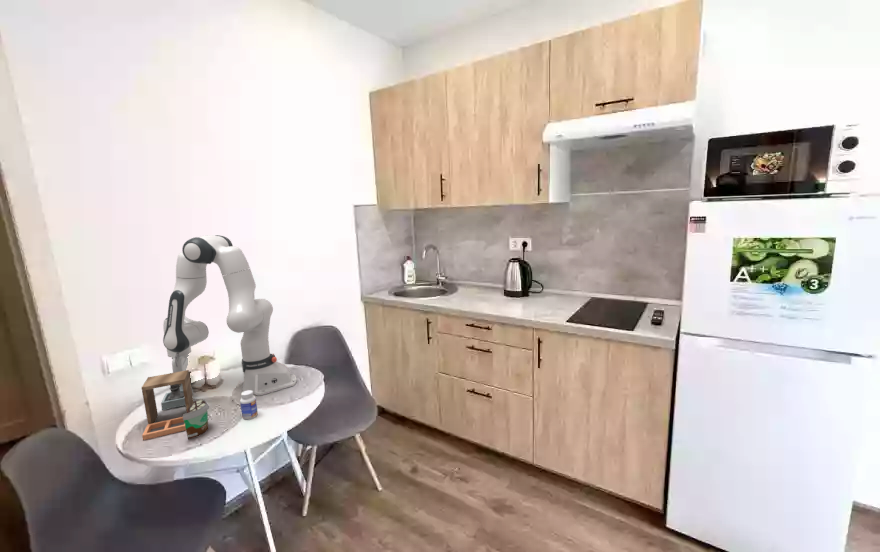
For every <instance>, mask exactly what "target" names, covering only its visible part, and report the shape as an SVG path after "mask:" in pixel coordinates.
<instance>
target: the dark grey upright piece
mask: <svg viewBox="0 0 880 552" xmlns="http://www.w3.org/2000/svg"><path fill="white" fill-rule="evenodd" d="M169 386H170V388H169V390H170V392H171V396H169V397H168V400H169V401H170V400H175V399H180V398H184V393H181V392H180V386H181V385H179V384H174V385H169Z"/></svg>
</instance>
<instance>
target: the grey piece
mask: <svg viewBox="0 0 880 552" xmlns="http://www.w3.org/2000/svg"><path fill="white" fill-rule="evenodd" d="M190 373H191V371H189V376H190ZM190 382H191V378H190ZM179 386H180V387H179V388H180V392H181V393H184V392H183V386H182V383H180V384H179ZM191 388H192V395H193V396H194V395H195V394H194V388H193V387H191ZM169 396H171V391H170V392H166V393H165V394H164V396H163V399H162V400H161V403H160V404H161V410H162V411H165V410H169V409H174V408H178V407H182V406H183V407H184V406H186V405H185V398H180V399H175V400H170V401H169V400H168V397H169Z"/></svg>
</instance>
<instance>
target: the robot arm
mask: <svg viewBox="0 0 880 552" xmlns="http://www.w3.org/2000/svg"><path fill="white" fill-rule="evenodd" d="M212 263H214V264H216V265H217V266H218V268H219V271H220V274H221V277H222V280H223V282H224V285H225V289H226V290H227V291H226V292H227V295H228V296H227V298H228V315H227V317H226V325H227V328H229V330H230V331H232V332H234V333H238V334H239V333H240V334H241V333H243V334H242V337H241V340H240V349H241V358H242V359H241V369H242V372H243V385H242V389H241V391H242V392H244V391H247V390H252V391H253V395H254V396H263V395H266V394H269V393H273V392H277V391H280V390H284V389H287V388H291V387H293V386H295V385H296V384H297V377H296V375H295V374H294V373H292V372H291V370H290V369H289V367H288V366H287V365H286V364H285V363H281V362H278V359H277V357H276V354H275V353H270V344H269V342H270V341H269V332H270V323H271V317H272V314H273V311H274V308H273V303H272V302H271V301H270V300H269V299H266V298H255V291H256V286H257V285H256V282H255V278H254V276H253V273H252V270H251V266H250V265H249V262H248V259H247V258H246V256H245V254H244V252H243V250H242V249H241V247H239V246H238V247H237V246H234V245H233V243H232V240H231V239H229V238H228V237H226V236H224V235H202V236H201V235H200V236H196V237H193V238H189V239H188V240H186V241H185V242H184V244H183V245H182V251H181V252H180V253H178V255H177V259H176V265H175V285H174V289H173V292H172V293H171V295H170V297H169V300H168V301H169V302H168V308H167V309H168V310H167V317H166V318H165V319H164V320H163V324H162V325H163V338H162V343H163V346H164V348H166V352H167V357H168V358H171V365H172V367H171V368H172V373H175V372H180V371H186V370H187V369H188V366H189V364H188V358H187V357H188V356H189V355H188V354H189V353H191V352H192V347H193V346H195V345H198V344H199V343H201V342H203V341H206V339H207V338H208V337H209V328H208V326H207V325H206V323H204V322H202V321H200V320H199V321H197V320H193V319H191V318H188V317H187V316H186V309H187V307H188V306H189V305H190V304H191V302H193V301H194V300H195V299H196V298H198V297H199V296H201V295H202V294H203V292H205V290H206V288H207V281H208V280H207V279H208V277H207V266H208V265H211V264H212Z"/></svg>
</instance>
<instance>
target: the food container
mask: <svg viewBox="0 0 880 552" xmlns="http://www.w3.org/2000/svg"><path fill="white" fill-rule="evenodd" d="M193 401H194V402H193V404H192V405H191V406H190V407H189V409H188V411H186V413H183V414H182V417H183V420H184V423H185V427H186V431H185V432H186V436H187V439H188V440H192V439H195V438H198V437H200V436H202V435H204V434H205V433H206V432H207V431H208V430H209V417H208V416H209V414H208V410H209V409H210V406H209V403H208V401H207V400H206V399H204V398H193Z"/></svg>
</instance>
